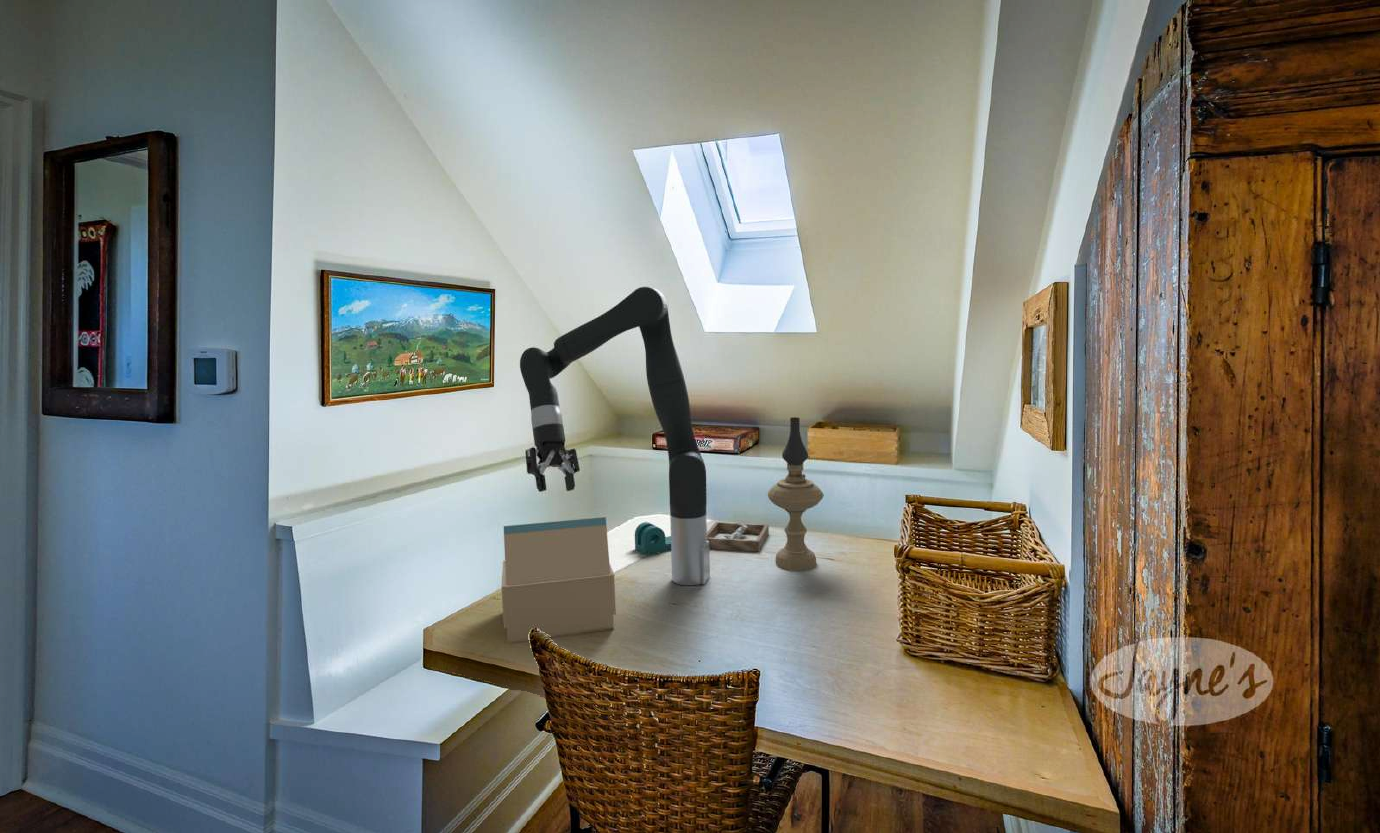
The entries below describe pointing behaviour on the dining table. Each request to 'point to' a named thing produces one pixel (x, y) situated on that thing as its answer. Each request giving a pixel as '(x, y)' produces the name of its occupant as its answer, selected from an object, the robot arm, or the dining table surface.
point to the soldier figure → (737, 532)
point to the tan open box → (558, 606)
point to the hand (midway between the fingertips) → (557, 490)
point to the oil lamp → (795, 502)
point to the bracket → (651, 539)
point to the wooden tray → (737, 543)
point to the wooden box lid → (556, 550)
